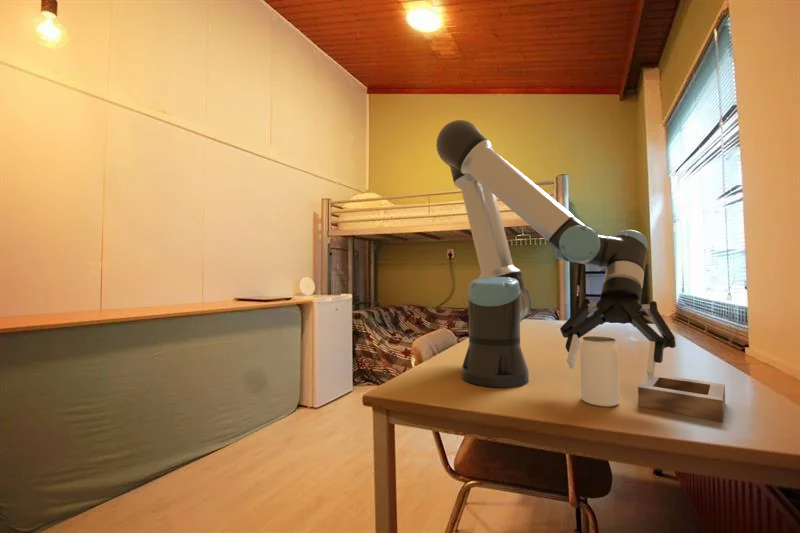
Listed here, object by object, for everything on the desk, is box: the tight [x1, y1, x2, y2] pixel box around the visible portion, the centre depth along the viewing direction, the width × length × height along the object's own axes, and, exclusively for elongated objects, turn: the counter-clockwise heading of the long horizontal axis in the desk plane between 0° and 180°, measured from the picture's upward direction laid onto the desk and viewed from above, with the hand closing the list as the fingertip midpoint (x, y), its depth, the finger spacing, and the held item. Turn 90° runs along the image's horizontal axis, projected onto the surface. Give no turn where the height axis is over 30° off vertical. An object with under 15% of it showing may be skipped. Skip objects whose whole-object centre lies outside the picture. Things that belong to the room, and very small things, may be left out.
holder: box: [637, 373, 726, 423], centre depth 72 cm, size 12×12×4 cm
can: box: [579, 335, 620, 408], centre depth 74 cm, size 6×6×12 cm
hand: (607, 370), depth 74 cm, fingers open, 13 cm apart
